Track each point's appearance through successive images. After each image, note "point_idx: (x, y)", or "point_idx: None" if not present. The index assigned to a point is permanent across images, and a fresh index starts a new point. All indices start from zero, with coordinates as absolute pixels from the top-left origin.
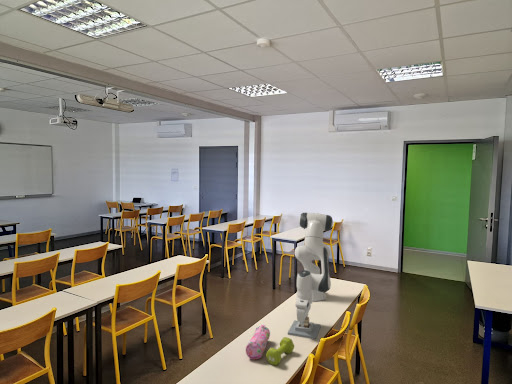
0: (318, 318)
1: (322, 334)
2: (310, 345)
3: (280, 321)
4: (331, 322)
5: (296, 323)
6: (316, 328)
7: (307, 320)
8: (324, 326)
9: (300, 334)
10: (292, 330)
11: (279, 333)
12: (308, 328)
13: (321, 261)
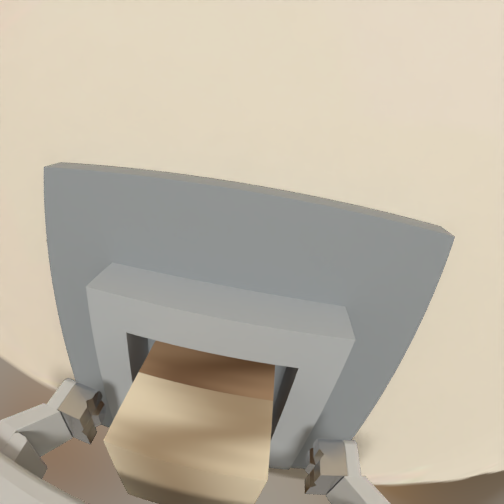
0: (465, 424)
1: None
2: (16, 358)
3: (436, 18)
4: (384, 482)
5: (351, 273)
6: None
7: (129, 492)
8: None
9: (61, 319)
10: (104, 225)
11: (67, 58)
12: None
13: None
